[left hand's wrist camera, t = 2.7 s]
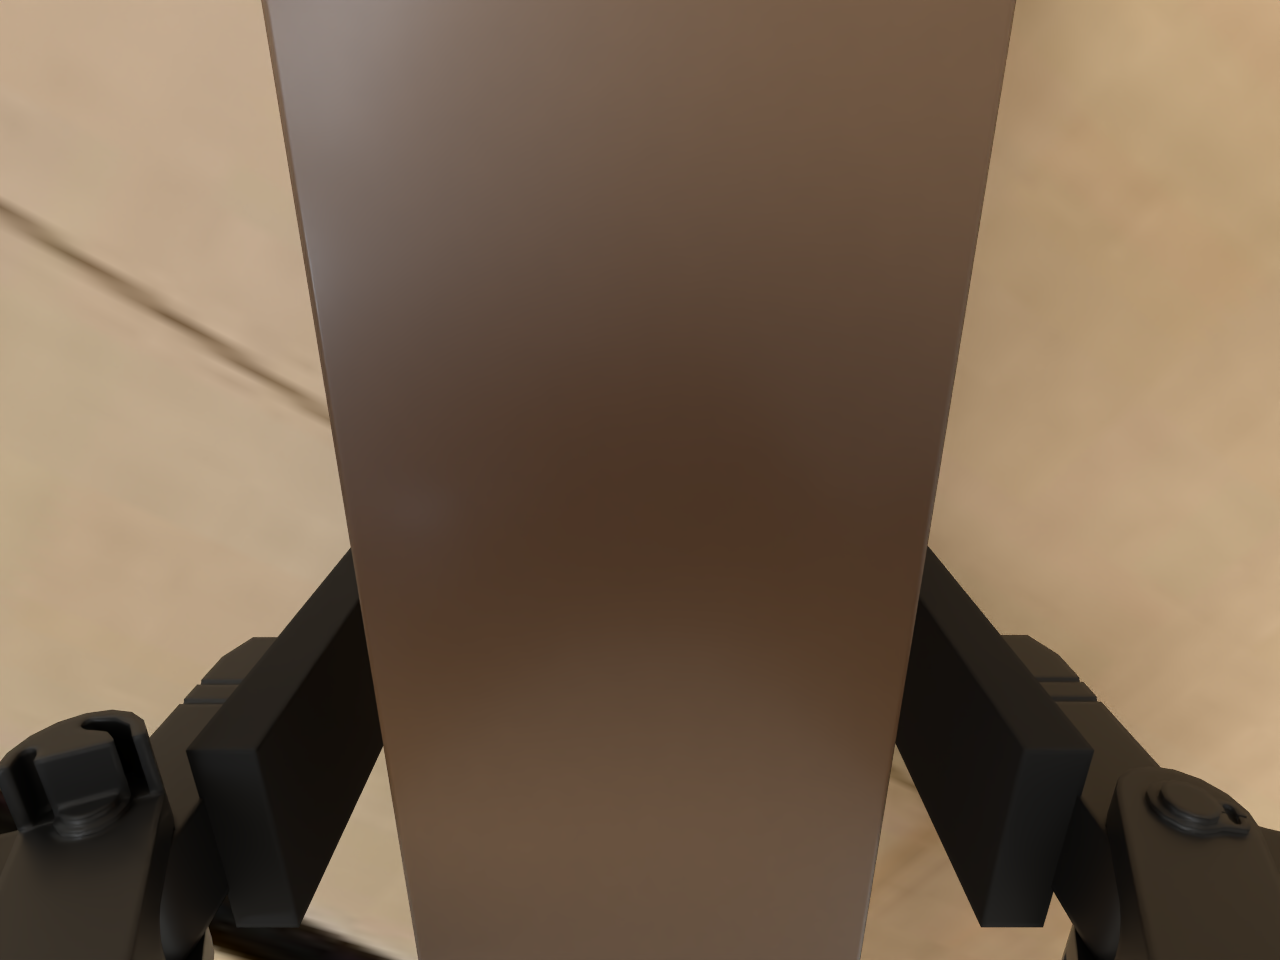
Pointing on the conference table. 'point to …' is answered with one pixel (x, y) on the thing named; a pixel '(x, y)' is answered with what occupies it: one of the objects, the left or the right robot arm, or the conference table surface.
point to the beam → (638, 438)
